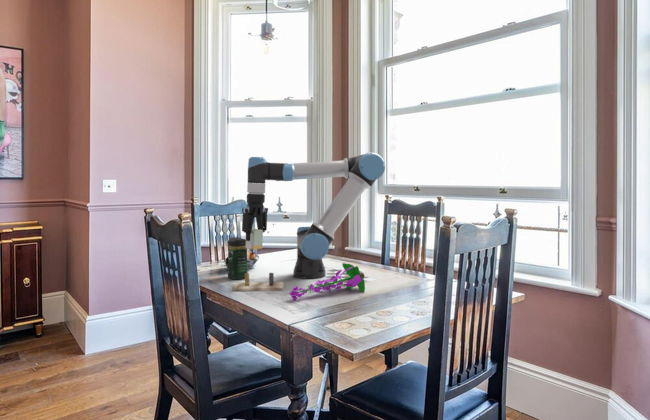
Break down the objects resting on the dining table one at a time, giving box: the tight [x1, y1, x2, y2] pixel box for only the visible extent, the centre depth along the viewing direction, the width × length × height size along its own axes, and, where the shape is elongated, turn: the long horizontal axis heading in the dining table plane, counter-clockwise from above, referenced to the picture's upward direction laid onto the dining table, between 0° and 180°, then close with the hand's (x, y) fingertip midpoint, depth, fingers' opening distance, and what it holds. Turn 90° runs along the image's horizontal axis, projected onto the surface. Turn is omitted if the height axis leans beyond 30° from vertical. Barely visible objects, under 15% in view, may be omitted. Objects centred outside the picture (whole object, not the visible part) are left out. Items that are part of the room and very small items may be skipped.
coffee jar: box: [227, 236, 249, 280], centre depth 194 cm, size 10×8×19 cm
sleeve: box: [248, 228, 264, 251], centre depth 181 cm, size 5×5×8 cm
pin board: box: [232, 272, 284, 292], centre depth 176 cm, size 20×10×6 cm, turn 95°
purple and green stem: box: [289, 262, 366, 301], centre depth 167 cm, size 12×16×35 cm
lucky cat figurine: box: [225, 248, 260, 270], centre depth 210 cm, size 15×12×14 cm
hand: (253, 247), depth 182 cm, fingers closed on sleeve, 5 cm apart
